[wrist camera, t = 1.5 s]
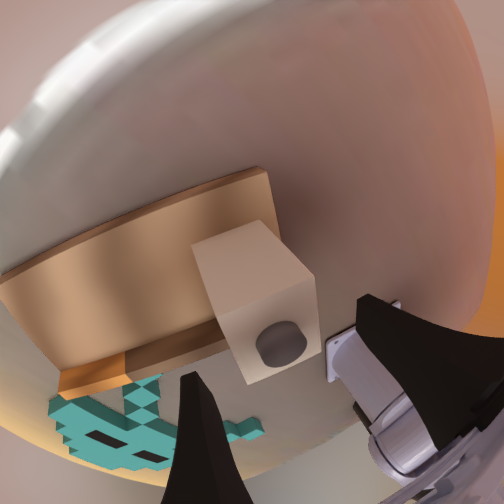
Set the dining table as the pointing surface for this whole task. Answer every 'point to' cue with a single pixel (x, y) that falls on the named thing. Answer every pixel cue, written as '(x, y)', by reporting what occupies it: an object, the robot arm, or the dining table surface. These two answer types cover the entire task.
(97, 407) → the alien figure
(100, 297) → the board
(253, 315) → the cream block with knob
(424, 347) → the robot arm
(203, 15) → the dining table surface
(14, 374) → the dining table surface
